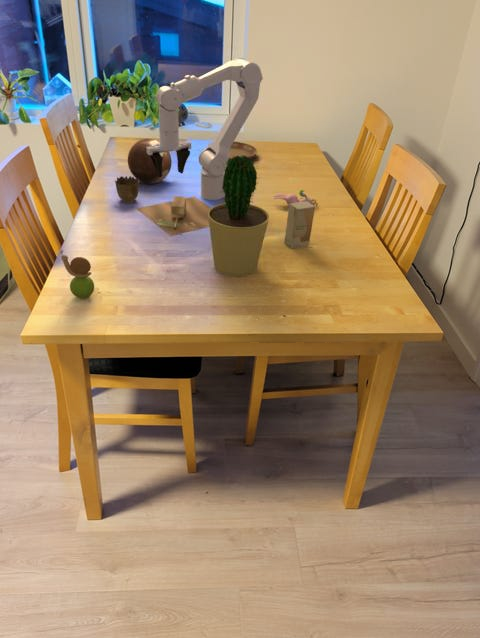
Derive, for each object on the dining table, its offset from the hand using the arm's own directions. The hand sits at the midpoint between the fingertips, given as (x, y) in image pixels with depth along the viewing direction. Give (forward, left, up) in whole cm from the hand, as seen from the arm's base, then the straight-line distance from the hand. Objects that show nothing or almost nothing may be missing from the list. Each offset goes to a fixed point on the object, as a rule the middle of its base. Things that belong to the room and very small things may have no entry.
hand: (169, 174), depth 163 cm
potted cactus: (+5, +45, -10) cm, 46 cm away
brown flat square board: (+2, +12, -10) cm, 16 cm away
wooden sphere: (-3, -20, -10) cm, 23 cm away
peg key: (+5, +13, -9) cm, 17 cm away
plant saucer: (-46, -32, -10) cm, 57 cm away
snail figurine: (+45, +39, -10) cm, 60 cm away
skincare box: (-18, +43, -10) cm, 47 cm away
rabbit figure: (-36, +20, -10) cm, 43 cm away
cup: (+12, -6, -10) cm, 17 cm away
